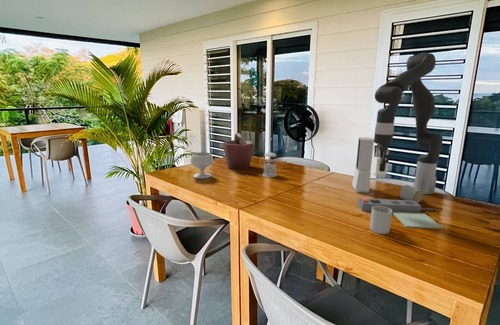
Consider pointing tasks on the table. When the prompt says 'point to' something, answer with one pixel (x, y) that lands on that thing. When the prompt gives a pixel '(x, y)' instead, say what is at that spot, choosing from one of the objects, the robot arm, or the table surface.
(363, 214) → the table surface
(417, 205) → the power strip
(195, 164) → the chalice
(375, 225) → the cup
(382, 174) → the block
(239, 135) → the bucket
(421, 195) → the ceramic mug
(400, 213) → the rubber mat
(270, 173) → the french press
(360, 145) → the electronic device
